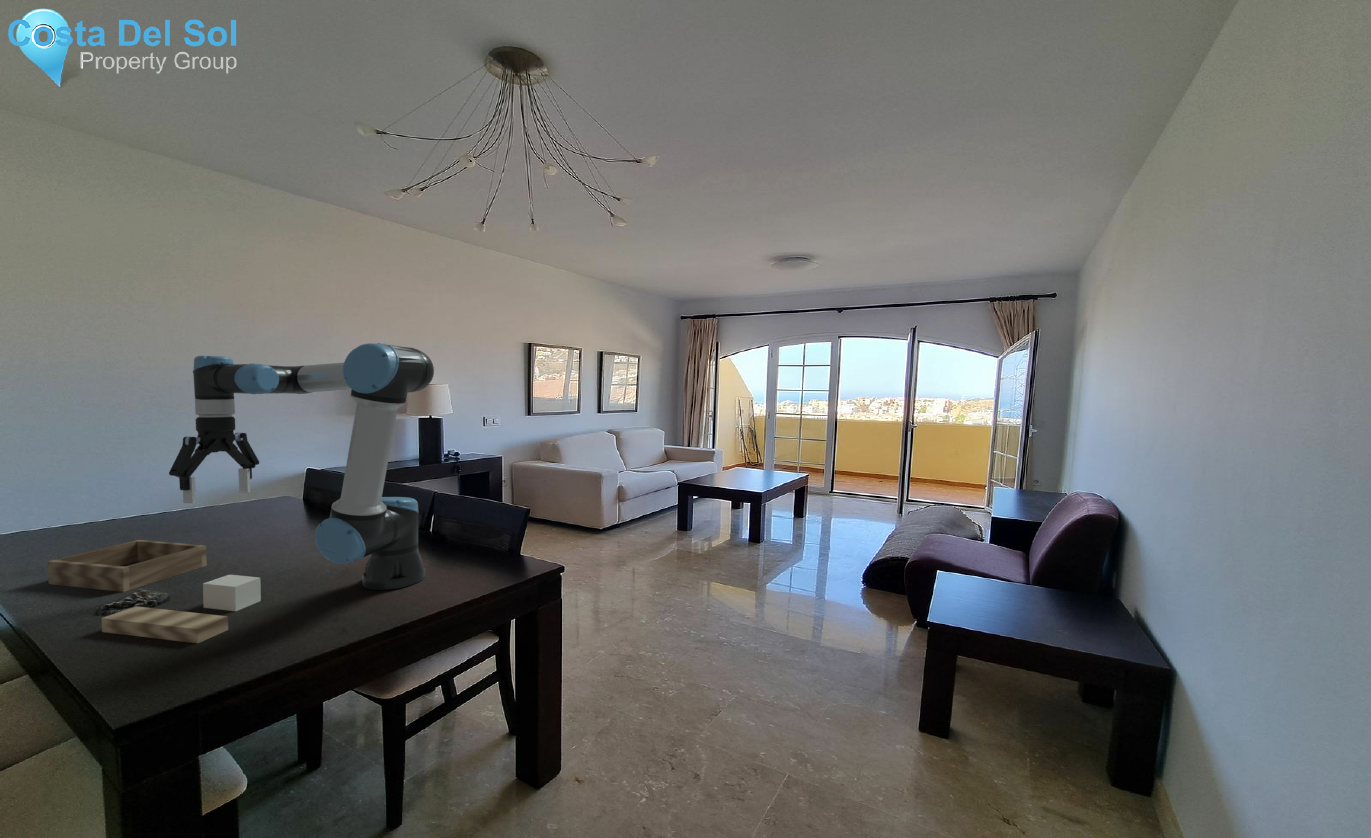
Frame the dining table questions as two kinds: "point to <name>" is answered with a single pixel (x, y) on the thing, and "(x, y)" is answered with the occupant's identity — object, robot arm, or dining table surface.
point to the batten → (165, 624)
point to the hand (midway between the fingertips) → (218, 497)
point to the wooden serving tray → (109, 573)
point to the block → (231, 592)
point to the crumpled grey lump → (135, 601)
